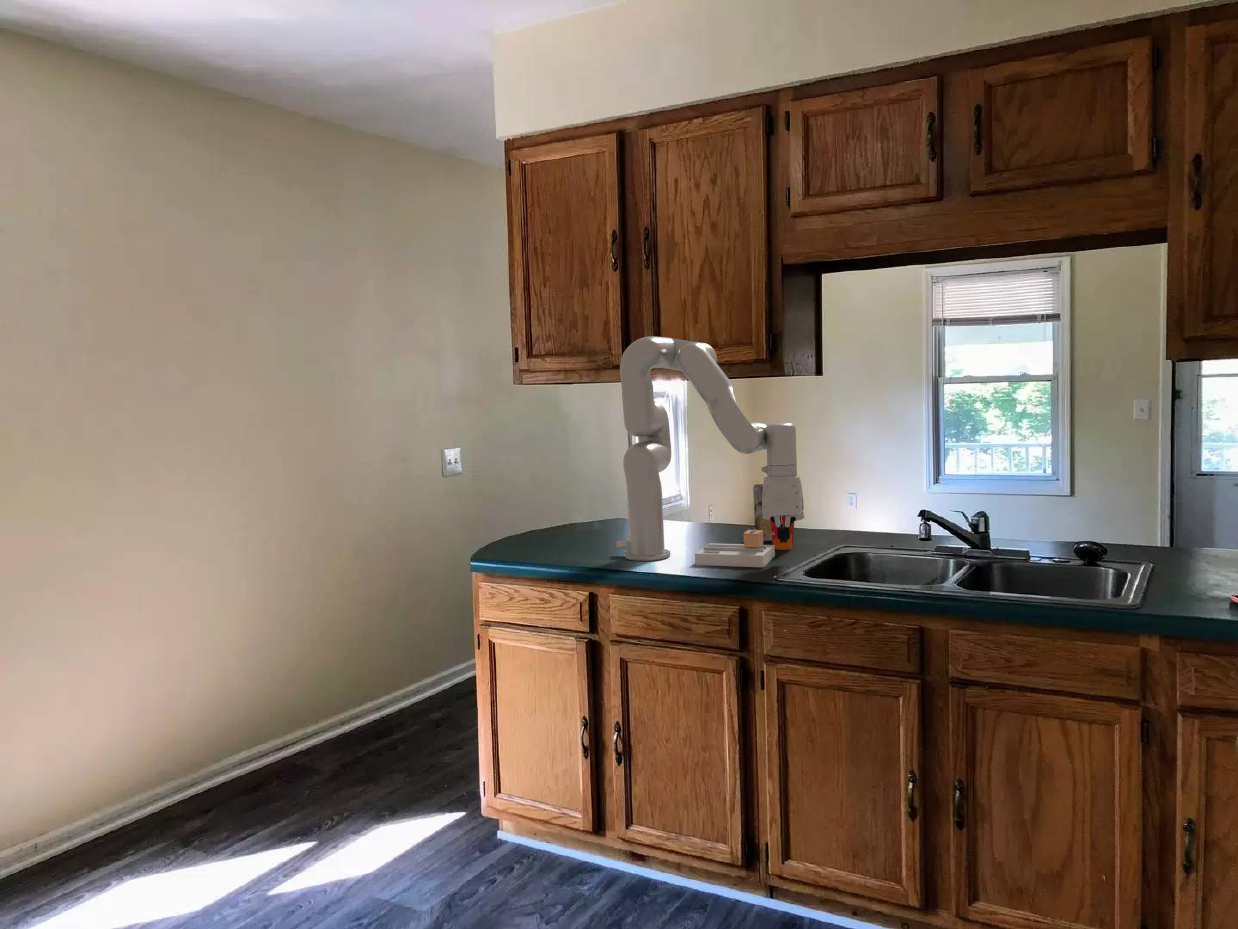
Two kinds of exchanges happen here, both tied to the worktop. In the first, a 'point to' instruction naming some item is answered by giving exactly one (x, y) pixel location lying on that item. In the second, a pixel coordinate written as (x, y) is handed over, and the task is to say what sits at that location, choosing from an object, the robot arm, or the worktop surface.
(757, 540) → the fader knob
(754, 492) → the coffee box
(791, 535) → the paper cup
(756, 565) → the panel
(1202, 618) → the worktop surface
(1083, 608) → the worktop surface
